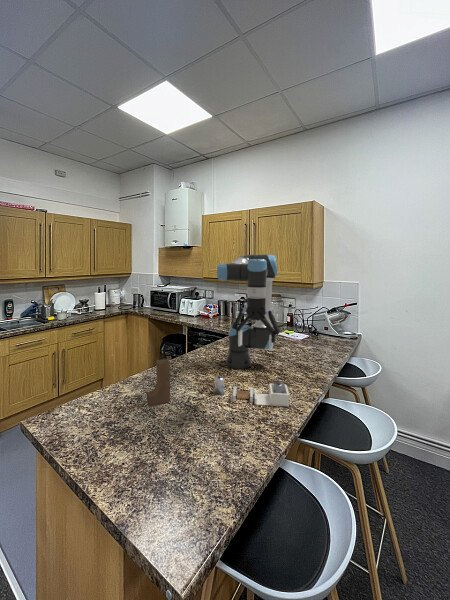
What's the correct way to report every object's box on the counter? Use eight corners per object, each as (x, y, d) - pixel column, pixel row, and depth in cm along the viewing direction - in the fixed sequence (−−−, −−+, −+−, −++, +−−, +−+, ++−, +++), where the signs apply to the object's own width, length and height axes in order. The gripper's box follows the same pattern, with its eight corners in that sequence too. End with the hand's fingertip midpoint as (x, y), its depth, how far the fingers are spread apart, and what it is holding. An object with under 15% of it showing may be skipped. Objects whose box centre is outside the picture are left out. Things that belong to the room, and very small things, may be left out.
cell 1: (215, 390, 133) (215, 374, 132) (224, 390, 132) (224, 374, 131) (214, 394, 128) (214, 377, 127) (223, 395, 128) (224, 378, 127)
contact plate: (237, 395, 125) (237, 390, 125) (249, 396, 125) (249, 391, 124) (236, 399, 122) (236, 393, 122) (249, 399, 121) (249, 394, 121)
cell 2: (273, 397, 123) (273, 379, 122) (283, 397, 123) (283, 380, 122) (273, 402, 119) (274, 384, 118) (284, 402, 118) (285, 384, 117)
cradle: (233, 394, 128) (233, 386, 128) (252, 395, 127) (252, 387, 127) (232, 404, 119) (232, 395, 119) (252, 405, 119) (253, 396, 118)
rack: (254, 396, 127) (254, 382, 126) (285, 398, 126) (286, 384, 125) (254, 407, 117) (254, 392, 116) (288, 409, 116) (289, 394, 115)
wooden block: (149, 407, 116) (148, 365, 114) (146, 402, 120) (145, 361, 118) (170, 401, 121) (169, 361, 119) (166, 397, 125) (166, 358, 123)
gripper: (224, 296, 117) (224, 345, 119) (284, 300, 106) (282, 354, 109) (232, 294, 123) (231, 341, 126) (289, 298, 112) (286, 349, 115)
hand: (255, 347), depth 117 cm, fingers open, 13 cm apart
